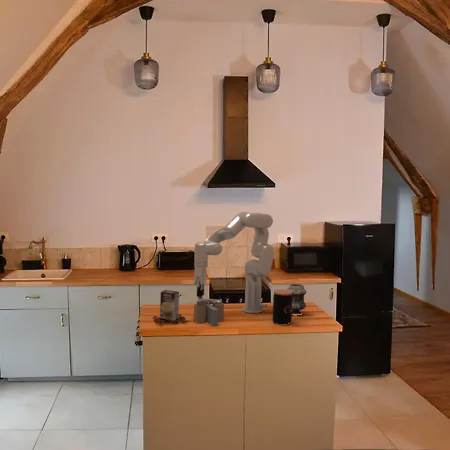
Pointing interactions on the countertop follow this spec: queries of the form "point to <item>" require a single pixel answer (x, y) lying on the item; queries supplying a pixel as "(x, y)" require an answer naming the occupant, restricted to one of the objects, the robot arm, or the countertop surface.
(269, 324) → the countertop surface
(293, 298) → the apothecary jar
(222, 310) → the grey twin block
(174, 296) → the coffee box
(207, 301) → the swing bar
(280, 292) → the coffee jar
